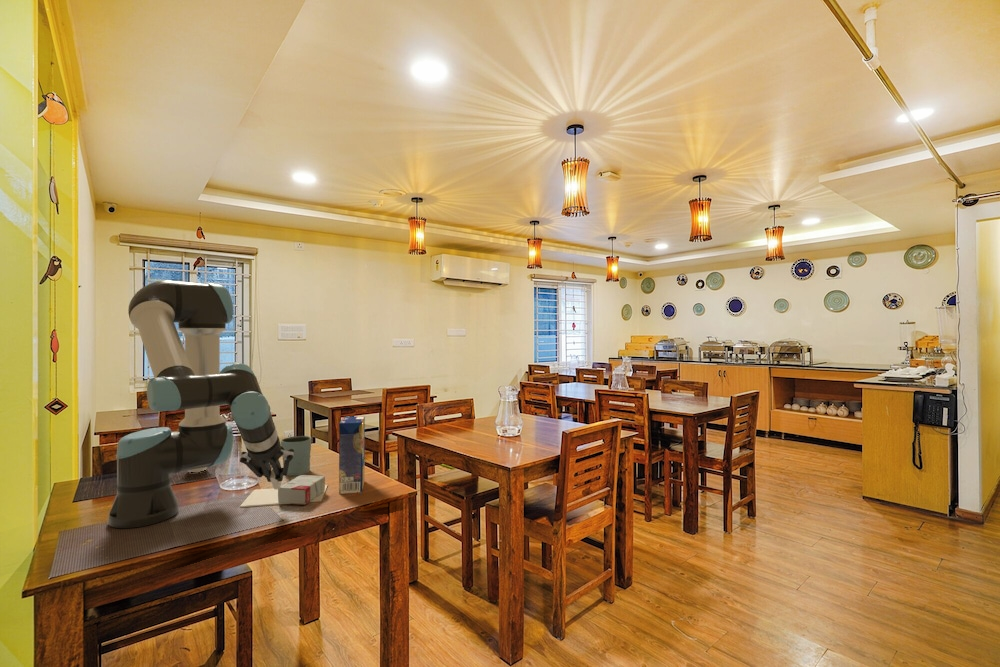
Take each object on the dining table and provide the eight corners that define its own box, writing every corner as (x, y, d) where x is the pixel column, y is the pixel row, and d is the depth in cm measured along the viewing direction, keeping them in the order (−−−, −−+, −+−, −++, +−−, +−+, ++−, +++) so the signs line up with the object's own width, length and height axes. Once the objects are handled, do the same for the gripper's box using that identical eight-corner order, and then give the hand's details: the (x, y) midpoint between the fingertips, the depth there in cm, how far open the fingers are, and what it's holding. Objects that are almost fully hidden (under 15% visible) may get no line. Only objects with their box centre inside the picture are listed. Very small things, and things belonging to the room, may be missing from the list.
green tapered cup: (304, 476, 162) (304, 442, 162) (275, 476, 162) (275, 442, 162) (316, 468, 172) (316, 435, 172) (288, 467, 172) (288, 435, 172)
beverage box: (364, 481, 157) (364, 416, 157) (361, 492, 146) (362, 422, 146) (343, 482, 156) (343, 416, 156) (339, 493, 145) (339, 423, 145)
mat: (239, 507, 134) (239, 506, 134) (254, 490, 147) (254, 489, 147) (321, 501, 139) (321, 500, 139) (327, 485, 152) (327, 484, 152)
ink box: (305, 505, 134) (325, 491, 146) (305, 488, 134) (325, 475, 146) (277, 503, 136) (300, 490, 147) (277, 487, 135) (300, 474, 147)
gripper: (229, 454, 112) (250, 499, 128) (287, 451, 115) (300, 495, 131) (236, 428, 117) (255, 474, 133) (292, 426, 120) (304, 471, 136)
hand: (277, 484), depth 132 cm, fingers closed
